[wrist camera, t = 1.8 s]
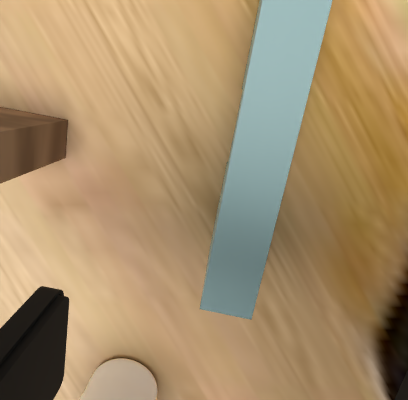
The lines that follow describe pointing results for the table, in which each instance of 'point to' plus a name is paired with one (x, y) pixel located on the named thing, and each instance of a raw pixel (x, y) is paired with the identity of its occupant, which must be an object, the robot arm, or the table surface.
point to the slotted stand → (29, 142)
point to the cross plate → (262, 149)
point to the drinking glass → (121, 382)
